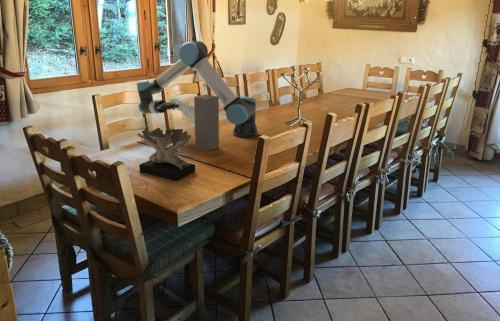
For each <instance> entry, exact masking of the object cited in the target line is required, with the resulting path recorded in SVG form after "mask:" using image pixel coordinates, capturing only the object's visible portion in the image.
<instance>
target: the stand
mask: <svg viewBox="0 0 500 321" xmlns="http://www.w3.org/2000/svg"><path fill="white" fill-rule="evenodd" d="M193 97H194V98H193V100H194V101H193V102H194V104H193V106H194V108H195V122H194V141H195V142H194V146H195V149H197V150H198V149H199V150H202V151H205V152H209V151H213V150H215V149H218V148H220V141H219V140H220V131H219V130H220V127H219V126H220V124H219V123H220V117H219V116H220V115H219V114H220V112H219V110H220V109H219V108H220V107H219V106H220V105H219V102H220V100H219V97H217V96H216V95H210V94H202V95H196V96H193Z"/></svg>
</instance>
